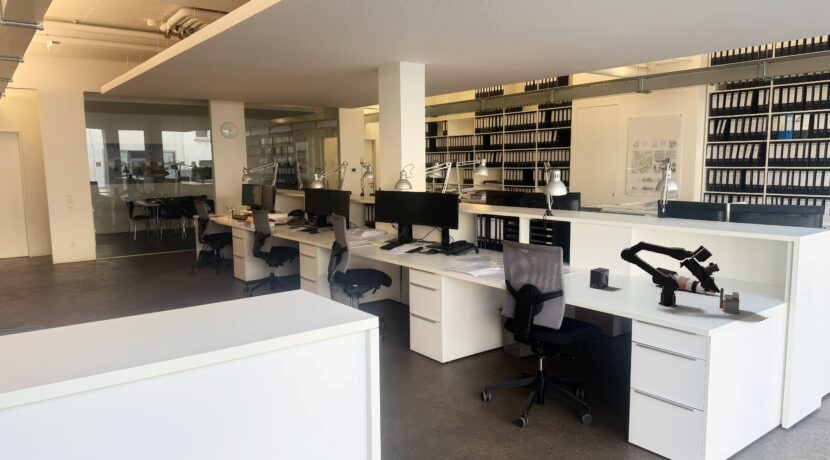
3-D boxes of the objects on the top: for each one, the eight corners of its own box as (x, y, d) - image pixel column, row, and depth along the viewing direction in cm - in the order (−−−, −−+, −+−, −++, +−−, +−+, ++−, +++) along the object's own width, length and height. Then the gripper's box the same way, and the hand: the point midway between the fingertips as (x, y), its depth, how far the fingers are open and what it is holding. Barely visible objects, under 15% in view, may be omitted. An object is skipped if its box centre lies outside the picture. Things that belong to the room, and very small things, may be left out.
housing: (724, 312, 269) (726, 294, 268) (723, 307, 278) (724, 290, 277) (738, 314, 266) (739, 295, 265) (736, 309, 275) (738, 291, 274)
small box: (599, 289, 320) (599, 271, 318) (589, 287, 324) (589, 269, 323) (609, 286, 326) (609, 268, 325) (598, 284, 331) (599, 267, 330)
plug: (719, 310, 272) (720, 288, 271) (719, 308, 276) (720, 286, 275) (734, 311, 269) (736, 290, 268) (733, 309, 273) (735, 288, 272)
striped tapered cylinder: (711, 304, 302) (709, 289, 297) (653, 287, 328) (651, 273, 323) (720, 293, 306) (719, 279, 302) (662, 277, 332) (660, 263, 328)
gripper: (709, 261, 265) (735, 285, 262) (708, 254, 282) (732, 278, 278) (690, 276, 270) (715, 300, 266) (690, 269, 286) (713, 292, 283)
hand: (719, 292), depth 273 cm, fingers closed
